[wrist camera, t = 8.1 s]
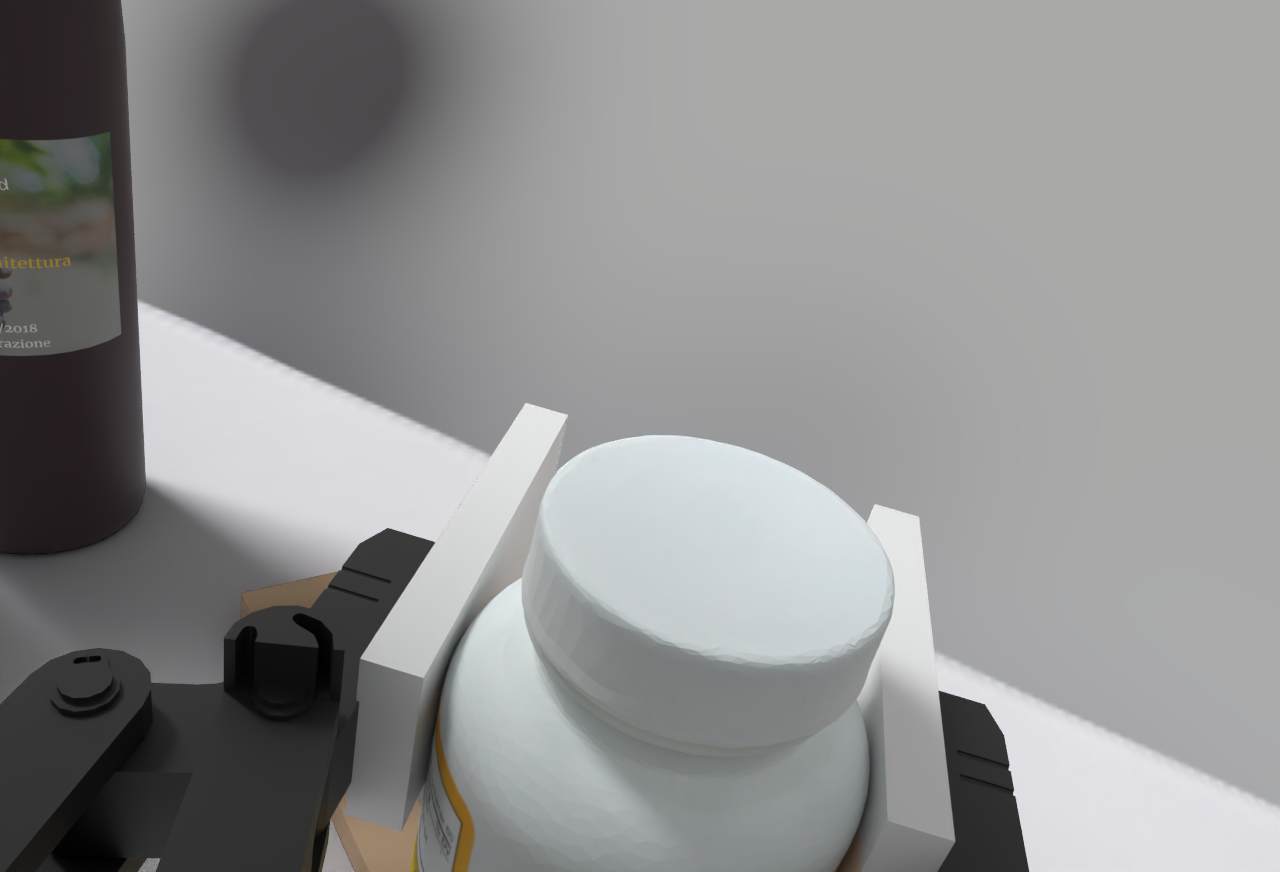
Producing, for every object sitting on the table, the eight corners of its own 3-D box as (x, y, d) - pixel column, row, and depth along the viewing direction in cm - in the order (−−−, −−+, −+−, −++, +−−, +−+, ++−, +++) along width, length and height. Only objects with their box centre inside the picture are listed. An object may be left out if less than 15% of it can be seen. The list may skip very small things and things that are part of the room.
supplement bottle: (315, 1000, 15) (360, 483, 10) (557, 804, 19) (673, 364, 14) (572, 1315, 12) (797, 827, 8) (789, 1012, 16) (1028, 565, 11)
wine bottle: (-103, 530, 37) (-325, -535, 22) (26, 439, 43) (-78, -441, 28) (76, 579, 37) (-24, -458, 22) (180, 481, 43) (159, -381, 28)
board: (241, 617, 37) (242, 542, 35) (558, 542, 45) (573, 478, 43) (477, 1146, 24) (498, 1070, 22) (863, 908, 32) (902, 838, 30)
